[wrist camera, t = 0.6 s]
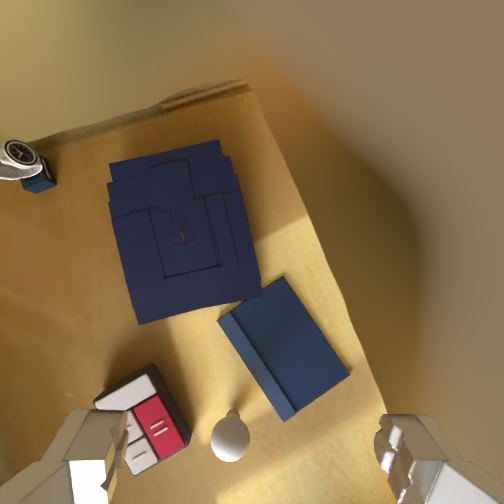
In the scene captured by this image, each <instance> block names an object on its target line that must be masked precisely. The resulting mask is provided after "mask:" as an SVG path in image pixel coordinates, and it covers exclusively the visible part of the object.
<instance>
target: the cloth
mask: <svg viewBox="0 0 504 504" xmlns="http://www.w3.org/2000/svg"><path fill="white" fill-rule="evenodd" d="M262 293H263V297H261V298H255V299H250V300H246V301H245V302H243V303H242V304H240V305H239V306H238V307H236V308H235V309H233V310H232V311H230V312H229V313H227V314H226V315H224V316H223V317H221V318H220V319H218V320H217V322H218V323H219V325H220V326H221V328H222V329H223V331H224V332H225V334H226V335H227V337H228V338H229V340H230V341H231V343H232V344H233V346H234V348H235V349H236V351H237V352H238V354H239V355H240V357H241V358H242V360H243V361H244V363H245V364H246V366H247V367H248V369H249V370H250V372H251V373H252V375H253V377H254V378H255V380H256V381H257V383H258V384H259V386H260V387H261V389H262V390H263V392H264V393H265V395H266V396H267V398H268V399H269V401H270V403H271V404H272V406H273V407H274V409H275V410H276V412H277V413H278V415H279V416H280V418H281V419H282V421H283V422H285V421H287V420H288V419H289V418H291V417H292V416H294V415H295V414H296V413H297V412H298V411H299V410H301V409H302V408H304V407H305V406H307V405H308V404H309V403H311V402H312V401H314V400H315V399H317V398H318V397H319V396H321V395H322V394H324V393H325V392H327V391H328V390H329V389H331V388H332V387H334V386H335V385H337V384H338V383H339V382H341V381H342V380H344V379H345V378H346V377H348V376H349V375H350V374H349V372H348V371H347V369H346V368H345V366H344V365H343V363H342V362H341V360H340V359H339V357H338V356H337V355H336V353H335V352H334V350H333V349H332V347H331V346H330V344H329V343H328V341H327V340H326V338H325V337H324V335H323V334H322V332H321V331H320V329H319V328H318V326H317V325H316V323H315V322H314V321H313V319H312V318H311V316H310V315H309V313H308V312H307V310H306V309H305V307H304V306H303V304H302V303H301V301H300V300H299V298H298V297H297V295H296V294H295V292H294V291H293V289H292V288H291V286H290V285H289V284H288V282H287V281H286V279H285V278H284V276H282V277H280V278H279V279H277V280H276V281H274V282H273V283H272V284H270V285H269V286H267V287H266V288H264V289H263V290H262Z"/></svg>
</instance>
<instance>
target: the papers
mask: <svg viewBox="0 0 504 504" xmlns="http://www.w3.org/2000/svg"><path fill="white" fill-rule="evenodd" d="M109 167H110V172H111V176H112V180H113V182H110V183H107V188H108V193H109V198H110V202H108V204H109V209H110V213H111V218H112V219H111V221H112V225H113V229H114V233H115V237H116V241H117V245H118V250H119V254H120V258H121V262H122V266H123V270H124V275H125V279H126V283H127V287H128V291H129V294H130V298H131V302H132V306H133V309H134V310H135V314H136V317H137V320H138V324H139V325H141V324H144V323H148V322H152V321H156V320H159V319H163V318H167V317H170V316H174V315H178V314H181V313H185V312H189V311H193V310H196V309H200V308H205V307H211V306H216V305H222V304H227V303H233V302H239V301H244V300H250V299H255V298H261V297H263V293H262V287H261V281H260V280H261V278H260V273H259V268H258V264H257V259H256V255H255V251H254V246H253V242H252V237H251V233H250V229H249V224H248V220H247V215H246V211H245V206H244V202H243V198H242V193H241V190H240V186H239V182H238V178H237V174H236V173H235V174H234V171H233V167H232V163H231V160H230V156H226V157H223V154H222V150H221V146H220V141H219V139H218V140H213V141H209V142H205V143H201V144H197V145H192V146H188V147H184V148H180V149H176V150H172V151H167V152H163V153H158V154H153V155H149V156H144V157H139V158H134V159H129V160H125V161H120V162H115V163H110V164H109Z"/></svg>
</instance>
